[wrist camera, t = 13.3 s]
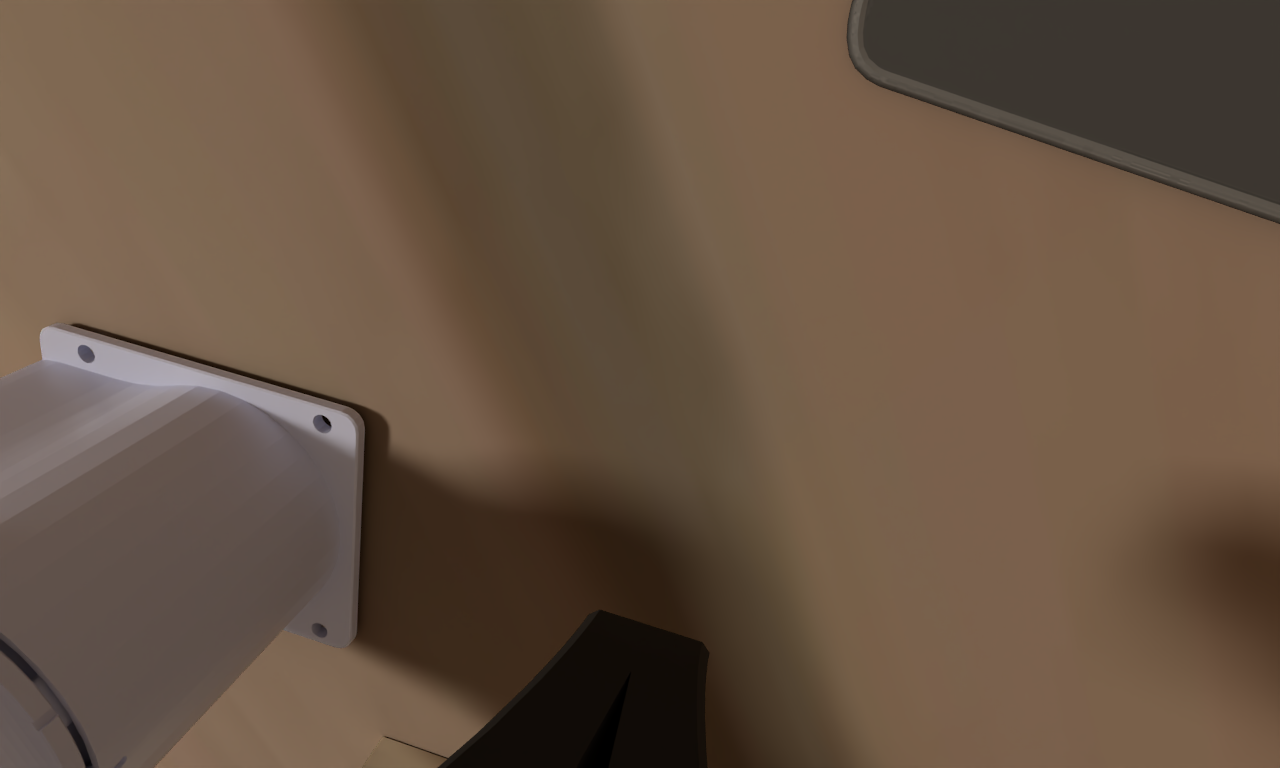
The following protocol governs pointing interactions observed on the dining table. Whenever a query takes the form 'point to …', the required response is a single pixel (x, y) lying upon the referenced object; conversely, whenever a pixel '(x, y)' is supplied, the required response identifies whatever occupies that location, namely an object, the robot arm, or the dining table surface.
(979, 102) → the smartphone
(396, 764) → the compartment tray
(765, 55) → the dining table surface
